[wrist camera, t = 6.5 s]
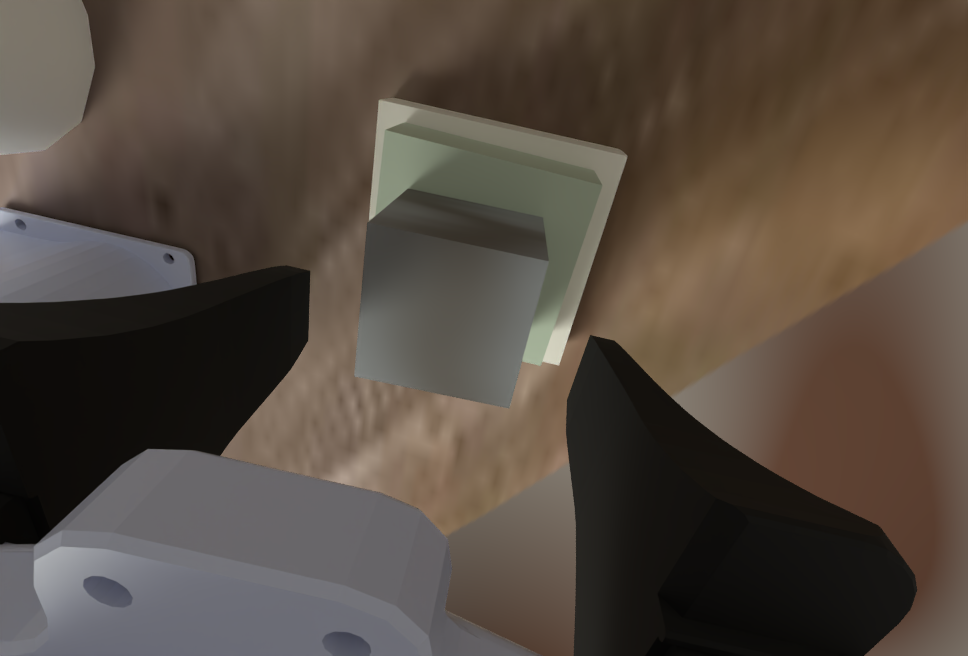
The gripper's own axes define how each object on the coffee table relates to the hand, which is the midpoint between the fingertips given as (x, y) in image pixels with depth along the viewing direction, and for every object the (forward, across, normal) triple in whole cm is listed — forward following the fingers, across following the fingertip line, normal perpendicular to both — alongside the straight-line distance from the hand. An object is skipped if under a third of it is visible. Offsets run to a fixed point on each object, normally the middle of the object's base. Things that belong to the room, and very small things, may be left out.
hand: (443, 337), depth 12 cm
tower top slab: (+8, 0, 0) cm, 8 cm away
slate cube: (+5, 0, 0) cm, 5 cm away
